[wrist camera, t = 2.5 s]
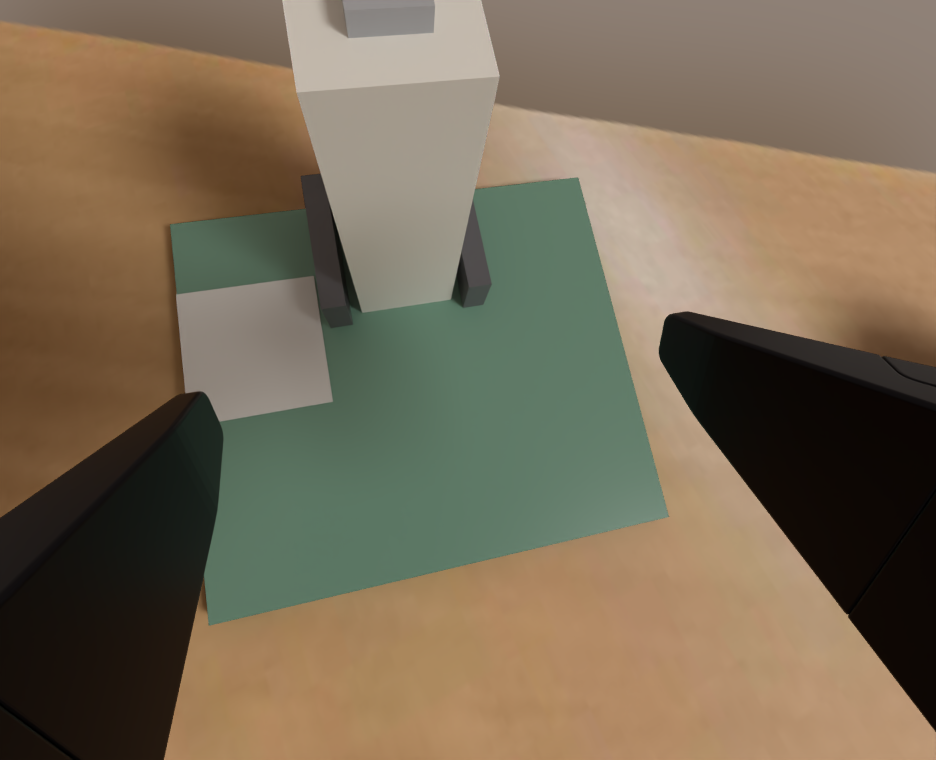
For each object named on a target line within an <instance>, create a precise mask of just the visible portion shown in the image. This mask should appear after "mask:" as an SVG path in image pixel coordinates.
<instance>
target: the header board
mask: <svg viewBox="0 0 936 760" xmlns="http://www.w3.org/2000/svg"><path fill="white" fill-rule="evenodd" d="M301 182H302V189H303V195H304V202H305V208H306V209H300V210H291V211H282V212H274V213H265V214H256V215H247V216H239V217H230V218H221V219H213V220H204V221H195V222H187V223H178V224H170V229H171V239H172V249H173V260H174V270H175V280H176V291H177V294H176V301H177V311H178V322H179V332H180V342H181V353H182V363H183V374H184V384H185V393H190V392H196V391H202V392H204V393H205V394H206V395H207V396H208V398H209V400H210V402H211V404H212V406H213V409H214V411H215V413H216V415H217V418H218V420H219V422H220V424H221V427H222V430H223V437H224V441H223V453H222V466H221V478H220V491H219V502H218V511H217V516H216V521H215V526H214V531H213V536H212V540H211V545H210V549H209V554H208V559H207V563H206V568H205V572H204V580H205V590H206V600H207V611H208V621H209V625H214V624H218V623H222V622H226V621H231V620H235V619H239V618H243V617H247V616H252V615H256V614H260V613H264V612H269V611H273V610H277V609H281V608H285V607H290V606H294V605H298V604H302V603H307V602H311V601H315V600H319V599H324V598H328V597H332V596H336V595H340V594H345V593H349V592H353V591H357V590H362V589H366V588H370V587H374V586H378V585H383V584H387V583H391V582H395V581H400V580H404V579H408V578H412V577H417V576H421V575H425V574H429V573H433V572H438V571H442V570H446V569H450V568H455V567H459V566H463V565H467V564H472V563H476V562H480V561H484V560H488V559H493V558H497V557H501V556H505V555H510V554H514V553H518V552H522V551H526V550H531V549H535V548H539V547H543V546H548V545H552V544H556V543H560V542H565V541H569V540H573V539H577V538H581V537H586V536H590V535H594V534H598V533H603V532H607V531H611V530H615V529H620V528H624V527H628V526H632V525H636V524H641V523H645V522H649V521H653V520H658V519H662V518H666V517H669V515H668V511H667V508H666V504H665V500H664V497H663V493H662V489H661V485H660V482H659V478H658V474H657V470H656V467H655V463H654V459H653V455H652V452H651V448H650V444H649V441H648V437H647V433H646V429H645V426H644V422H643V418H642V414H641V411H640V407H639V403H638V399H637V396H636V392H635V388H634V384H633V381H632V377H631V373H630V370H629V366H628V362H627V358H626V355H625V351H624V347H623V343H622V340H621V336H620V332H619V328H618V325H617V321H616V317H615V313H614V310H613V306H612V302H611V299H610V295H609V291H608V287H607V284H606V280H605V276H604V272H603V269H602V265H601V261H600V257H599V254H598V250H597V246H596V242H595V239H594V235H593V231H592V228H591V224H590V220H589V216H588V213H587V209H586V205H585V201H584V198H583V194H582V190H581V186H580V183H579V179H578V178H569V179H560V180H552V181H543V182H534V183H526V184H517V185H508V186H500V187H491V188H482V189H475V192H474V196H473V201H472V205H471V210H470V214H469V219H468V223H467V228H466V233H465V237H464V242H463V246H462V251H461V255H460V260H459V265H458V269H457V274H456V278H455V283H454V287H453V292H452V296H451V300H445V301H438V302H432V303H425V304H418V305H412V306H405V307H398V308H391V309H385V310H378V311H371V312H365V313H362V310H361V307H360V304H359V300H358V297H357V293H356V290H355V287H354V283H353V280H352V277H351V273H350V270H349V267H348V263H347V260H346V257H345V253H344V250H343V246H342V243H341V240H340V236H339V233H338V230H337V226H336V223H335V220H334V216H333V213H332V209H331V206H330V203H329V199H328V196H327V193H326V189H325V186H324V183H323V179H322V176H321V174H314V175H305V176H301Z"/></svg>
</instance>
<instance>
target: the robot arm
mask: <svg viewBox="0 0 936 760" xmlns="http://www.w3.org/2000/svg"><path fill="white" fill-rule="evenodd" d="M659 357H660V360H661V362H662V364H663V365H664V367H665V369H666V370H667V372H668V374H669V375H670V377H671V379H672V380H673V382H674V383H675V385H676V387H677V388H678V390H679V392H680V393H681V395H682V397H683V398H684V400H685V402H686V403H687V405H688V407H689V408H690V410H691V411H692V413H693V414H694V416H695V417H696V419H697V420H698V421H699V423H700V424H701V425H702V427H703V428H704V429H705V431H706V432H707V433H708V435H709V436H710V437H711V438H712V440H713V441H714V442H715V444H716V445H717V446H718V448H719V449H720V450H721V452H722V453H723V454H724V455H725V457H726V458H727V459H728V461H729V462H730V463H731V465H732V466H733V467H734V468H735V470H736V471H737V472H738V474H739V475H740V476H741V478H742V479H743V480H744V482H745V483H746V484H747V485H748V487H749V488H750V489H751V491H752V492H753V493H754V495H755V496H756V497H757V499H758V500H759V501H760V502H761V504H762V505H763V506H764V508H765V509H766V510H767V512H768V513H769V514H770V515H771V517H772V518H773V519H774V521H775V522H776V523H777V525H778V526H779V527H780V529H781V530H782V531H783V532H784V534H785V535H786V536H787V538H788V539H789V540H790V542H791V543H792V544H793V545H794V547H795V548H796V549H797V551H798V552H799V553H800V555H801V556H802V557H803V559H804V560H805V561H806V562H807V564H808V565H809V566H810V568H811V569H812V570H813V572H814V573H815V574H816V576H817V577H818V578H819V579H820V581H821V582H822V583H823V585H824V586H825V587H826V589H827V590H828V591H829V592H830V594H831V595H832V596H833V598H834V599H835V600H836V602H837V603H838V604H839V606H840V607H841V608H842V609H843V611H844V612H845V613H846V614H849V615H848V618H849V619H850V620H851V622H852V623H853V624H854V626H855V627H856V628H857V630H858V631H859V632H860V634H861V635H862V636H863V637H864V639H865V640H866V641H867V643H868V644H869V645H870V647H871V648H872V649H873V650H874V652H875V653H876V654H877V656H878V657H879V658H880V660H881V661H882V662H883V664H884V665H885V666H886V667H887V669H888V670H889V671H890V673H891V674H892V675H893V677H894V678H895V679H896V681H897V682H898V683H899V684H900V686H901V687H902V688H903V690H904V691H905V692H906V694H907V695H908V696H909V698H910V699H911V700H912V701H913V703H914V704H915V705H916V707H917V708H918V709H919V711H920V712H921V713H922V715H923V716H924V717H925V718H926V720H927V721H928V722H929V724H930V725H931V726H932V728H933V729H934V730H935V732H936V367H932V366H927V365H922V364H918V363H913V362H909V361H904V360H900V359H895V358H891V357H887V356H883V357H881V356H880V355H877V354H873V353H869V352H864V351H860V350H856V349H851V348H847V347H842V346H838V345H834V344H829V343H825V342H820V341H816V340H812V339H807V338H803V337H798V336H794V335H790V334H785V333H781V332H776V331H772V330H768V329H763V328H759V327H754V326H750V325H746V324H741V323H737V322H732V321H728V320H724V319H719V318H715V317H710V316H706V315H702V314H697V313H693V312H679V313H673V314H670V315H668V316H667V317H666V319H665V321H664V325H663V331H662V336H661V341H660V346H659ZM223 441H224V437H223V430H222V427H221V424H220V422H219V420H218V418H217V415H216V413H215V411H214V409H213V406H212V404H211V402H210V400H209V398H208V396H207V395H206V394H205V393H204V392H202V391H196V392H190V393H184V394H179V395H177V396H175V397H174V398H172V399H171V400H170V401H168V402H167V403H165V404H164V405H162V406H161V407H159V408H158V409H157V410H155V411H154V412H152V413H151V414H149V415H148V416H146V417H145V418H144V419H142V420H141V421H139V422H138V423H136V424H135V425H133V426H132V427H131V428H129V429H128V430H126V431H125V432H123V433H122V434H121V435H119V436H118V437H116V438H115V439H113V440H112V441H110V442H109V443H108V444H106V445H105V446H103V447H102V448H100V449H99V450H97V451H96V452H95V453H93V454H92V455H90V456H89V457H87V458H86V459H84V460H83V461H82V462H80V463H79V464H77V465H76V466H74V467H73V468H72V469H70V470H69V471H67V472H66V473H64V474H63V475H61V476H60V477H59V478H57V479H56V480H54V481H53V482H51V483H50V484H48V485H47V486H46V487H44V488H43V489H41V490H40V491H38V492H37V493H35V494H34V495H33V496H31V497H30V498H28V499H27V500H25V501H24V502H23V503H21V504H20V505H18V506H17V507H15V508H14V509H12V510H11V511H10V512H8V513H7V514H5V515H4V516H2V517H1V518H0V760H164V757H165V752H166V747H167V743H168V738H169V734H170V729H171V724H172V720H173V715H174V711H175V706H176V701H177V697H178V692H179V688H180V683H181V678H182V674H183V669H184V664H185V660H186V655H187V651H188V646H189V641H190V637H191V632H192V628H193V623H194V618H195V614H196V609H197V605H198V600H199V595H200V591H201V586H202V582H203V577H204V572H205V568H206V563H207V559H208V554H209V549H210V545H211V540H212V536H213V531H214V526H215V521H216V516H217V511H218V502H219V491H220V478H221V466H222V453H223Z"/></svg>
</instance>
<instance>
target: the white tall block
mask: <svg viewBox="0 0 936 760" xmlns="http://www.w3.org/2000/svg"><path fill="white" fill-rule="evenodd" d="M282 2H283V8H284V14H285V21H286V27H287V34H288V40H289V46H290V53H291V59H292V66H293V72H294V79H295V85H296V91H297V95H298V99H299V102H300V105H301V109H302V112H303V115H304V119H305V122H306V126H307V129H308V132H309V136H310V139H311V142H312V146H313V149H314V152H315V156H316V159H317V162H318V166H319V169H320V173H321V176H322V179H323V183H324V186H325V189H326V193H327V196H328V199H329V203H330V206H331V209H332V213H333V216H334V220H335V223H336V226H337V230H338V233H339V236H340V240H341V243H342V246H343V250H344V253H345V257H346V260H347V263H348V267H349V270H350V273H351V277H352V280H353V283H354V287H355V290H356V293H357V297H358V300H359V304H360V307H361V310H362V313H365V312H371V311H378V310H385V309H391V308H398V307H405V306H412V305H418V304H425V303H432V302H438V301H445V300H451V296H452V292H453V287H454V283H455V278H456V274H457V269H458V265H459V260H460V255H461V251H462V246H463V242H464V237H465V233H466V228H467V223H468V219H469V214H470V210H471V205H472V201H473V196H474V192H475V187H476V182H477V178H478V173H479V169H480V164H481V160H482V155H483V151H484V146H485V141H486V137H487V132H488V128H489V123H490V119H491V114H492V110H493V105H494V100H495V96H496V91H497V86H498V82H499V78H500V76H499V71H498V68H497V63H496V59H495V55H494V51H493V47H492V43H491V39H490V35H489V31H488V27H487V23H486V19H485V15H484V10H483V6H482V2H481V0H282Z"/></svg>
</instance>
